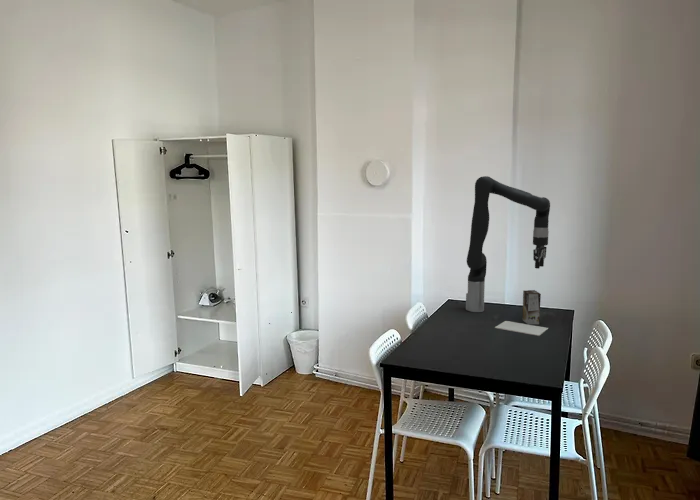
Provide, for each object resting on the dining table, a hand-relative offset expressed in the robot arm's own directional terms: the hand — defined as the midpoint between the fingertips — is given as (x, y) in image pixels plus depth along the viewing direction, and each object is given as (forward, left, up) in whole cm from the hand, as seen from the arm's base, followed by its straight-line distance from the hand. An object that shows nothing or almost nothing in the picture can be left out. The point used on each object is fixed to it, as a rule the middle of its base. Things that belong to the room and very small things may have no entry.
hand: (539, 267), depth 277 cm
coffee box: (0, -10, -28) cm, 29 cm away
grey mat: (0, -23, -27) cm, 36 cm away
